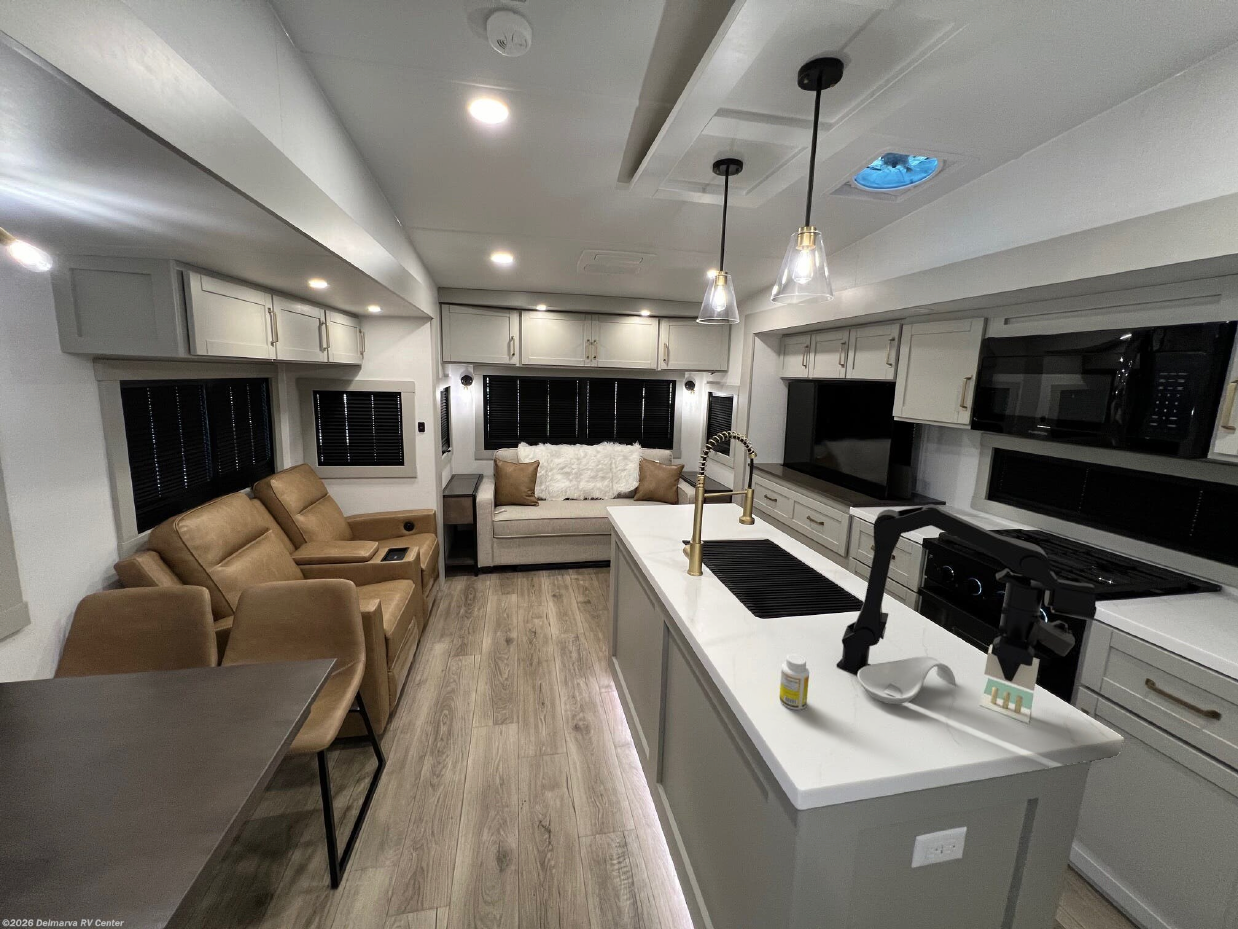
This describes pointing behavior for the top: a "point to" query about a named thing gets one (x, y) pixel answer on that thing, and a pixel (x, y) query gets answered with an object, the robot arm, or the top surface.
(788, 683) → the supplement bottle
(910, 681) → the spoon rest
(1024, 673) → the block
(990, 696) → the header board
